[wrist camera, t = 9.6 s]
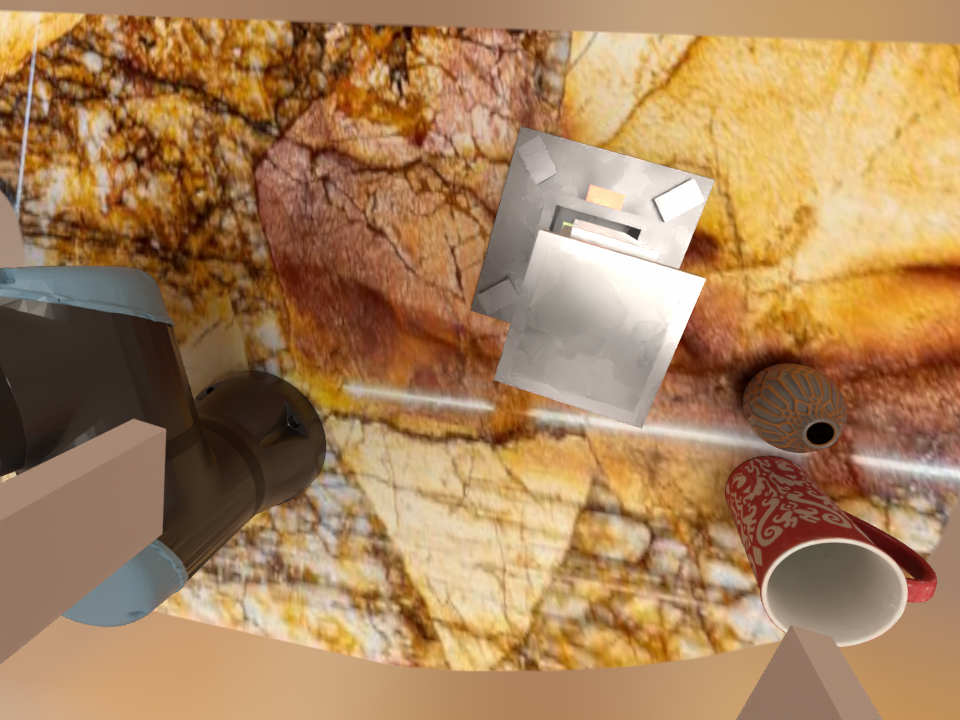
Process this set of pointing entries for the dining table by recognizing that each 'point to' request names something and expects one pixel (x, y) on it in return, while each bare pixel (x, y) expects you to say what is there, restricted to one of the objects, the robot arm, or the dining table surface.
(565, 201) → the stand base
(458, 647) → the dining table surface
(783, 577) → the mug
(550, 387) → the column
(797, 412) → the vase
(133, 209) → the dining table surface
